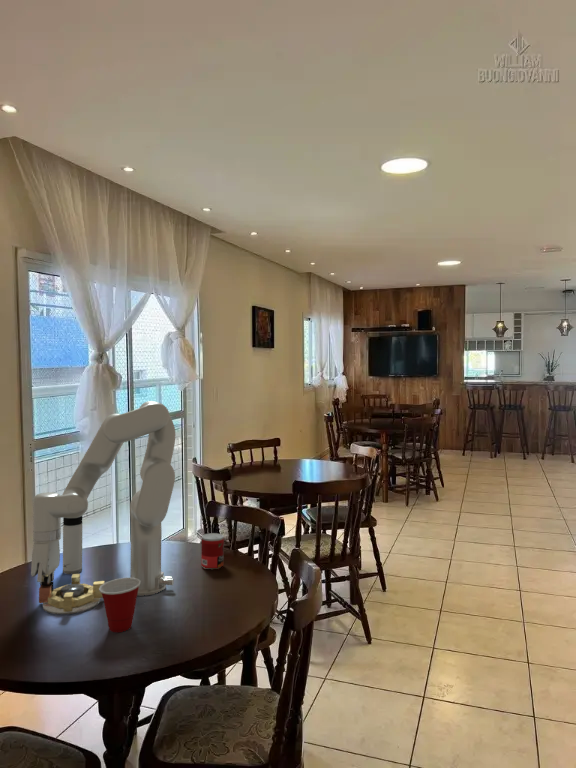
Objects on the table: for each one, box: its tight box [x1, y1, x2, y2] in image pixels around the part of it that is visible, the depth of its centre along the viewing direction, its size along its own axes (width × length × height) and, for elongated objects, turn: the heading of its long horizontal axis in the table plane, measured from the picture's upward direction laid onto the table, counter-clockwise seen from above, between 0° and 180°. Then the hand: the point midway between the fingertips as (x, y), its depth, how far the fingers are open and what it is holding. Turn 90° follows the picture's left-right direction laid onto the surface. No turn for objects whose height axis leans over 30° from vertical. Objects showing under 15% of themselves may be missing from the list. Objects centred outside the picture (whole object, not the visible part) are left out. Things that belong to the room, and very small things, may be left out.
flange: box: [42, 583, 102, 616], centre depth 161 cm, size 16×16×4 cm
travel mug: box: [62, 515, 83, 575], centre depth 187 cm, size 6×7×20 cm
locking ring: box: [38, 573, 105, 612], centre depth 161 cm, size 14×14×4 cm
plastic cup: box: [99, 577, 141, 633], centre depth 146 cm, size 11×11×12 cm
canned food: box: [200, 532, 225, 568], centre depth 194 cm, size 8×8×11 cm
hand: (46, 595), depth 161 cm, fingers closed
